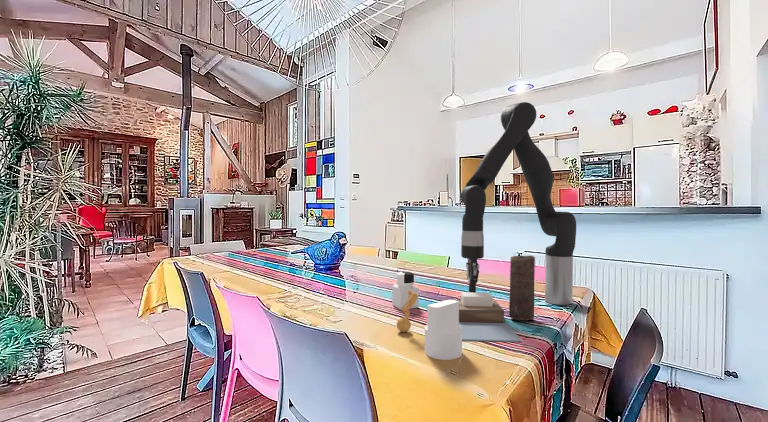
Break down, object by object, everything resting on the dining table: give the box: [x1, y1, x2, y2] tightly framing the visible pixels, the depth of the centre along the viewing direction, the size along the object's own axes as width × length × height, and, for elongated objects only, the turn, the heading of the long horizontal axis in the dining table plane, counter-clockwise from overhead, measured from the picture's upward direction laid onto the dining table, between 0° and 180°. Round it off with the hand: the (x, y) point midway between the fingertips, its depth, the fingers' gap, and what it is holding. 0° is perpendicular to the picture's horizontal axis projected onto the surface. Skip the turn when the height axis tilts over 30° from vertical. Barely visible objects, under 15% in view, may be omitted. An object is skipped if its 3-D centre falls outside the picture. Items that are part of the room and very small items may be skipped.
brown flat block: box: [454, 299, 505, 323], centre depth 125 cm, size 12×14×4 cm
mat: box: [459, 322, 522, 343], centre depth 111 cm, size 15×16×1 cm
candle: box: [508, 255, 536, 321], centre depth 122 cm, size 8×7×20 cm
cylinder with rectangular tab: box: [424, 299, 463, 361], centre depth 96 cm, size 9×9×12 cm
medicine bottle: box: [391, 271, 420, 311], centre depth 139 cm, size 7×7×12 cm
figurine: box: [396, 290, 417, 333], centre depth 111 cm, size 8×6×12 cm
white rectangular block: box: [460, 291, 494, 307], centre depth 127 cm, size 6×9×3 cm, turn 86°
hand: (472, 294), depth 135 cm, fingers closed
